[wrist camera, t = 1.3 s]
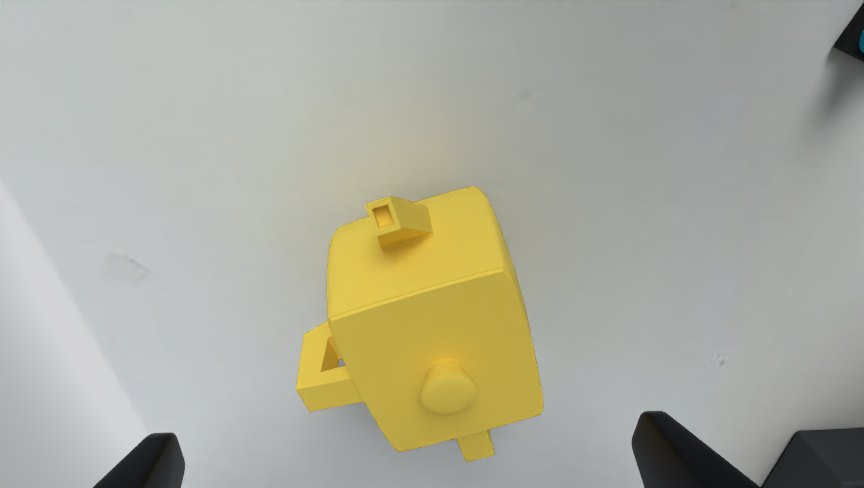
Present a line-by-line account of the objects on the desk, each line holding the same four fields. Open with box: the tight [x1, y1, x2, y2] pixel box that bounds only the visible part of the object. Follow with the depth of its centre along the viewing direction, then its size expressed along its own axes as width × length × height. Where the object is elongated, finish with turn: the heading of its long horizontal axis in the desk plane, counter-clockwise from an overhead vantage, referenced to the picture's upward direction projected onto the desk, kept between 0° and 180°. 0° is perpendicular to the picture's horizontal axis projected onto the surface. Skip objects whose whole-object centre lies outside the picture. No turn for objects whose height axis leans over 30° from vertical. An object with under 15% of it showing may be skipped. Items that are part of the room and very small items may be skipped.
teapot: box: [296, 186, 543, 462], centre depth 12 cm, size 8×6×5 cm
